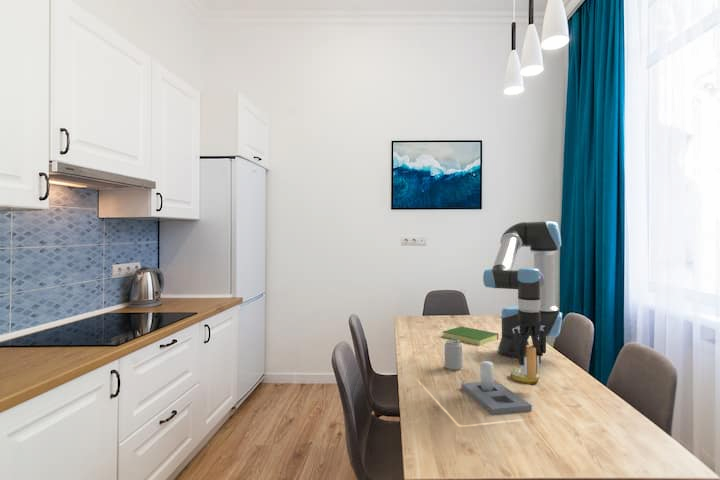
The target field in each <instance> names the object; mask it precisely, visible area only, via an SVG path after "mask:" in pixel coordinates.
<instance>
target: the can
mask: <svg viewBox="0 0 720 480" xmlns="http://www.w3.org/2000/svg"><path fill="white" fill-rule="evenodd" d="M444 367H445V368H446V369H447V370H449V371H459V370H461V369H462V368H463V345H462V344H461V341H458V340H454V339H447V340H446V341H445V343H444Z"/></svg>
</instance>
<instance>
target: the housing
mask: <svg viewBox="0 0 720 480" xmlns="http://www.w3.org/2000/svg"><path fill="white" fill-rule="evenodd" d="M461 389H462V390H463V391H465V393H467V394H468V395H469V396H470V397H471V398H472V399H473V400H475V401H476V402H477V403H478V404H479V405H481V407H482V408H484V410H486V411H487V412H489V413H490V414H491V415H492V416H495V415H503V414H514V413H522V412H523V413H524V412H532V409H533V408H532V407H533V406H532V404H531V403H529V402H528V401H527V400H525V399H524V398H523V397H521V396H519V395H517V393H515V392H513V391H512V390H510V389H509V388H507V387H506V386H505V385H503V384H502V383H500V382H499V381H497V380H493V391H487V392H483V391H482V390H481V381H475V382H462V383H461Z"/></svg>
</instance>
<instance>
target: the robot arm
mask: <svg viewBox="0 0 720 480" xmlns="http://www.w3.org/2000/svg"><path fill="white" fill-rule="evenodd" d="M559 227H560V226H559V224H558V222H556V221H548V220H545V221H531V222H530V221H529V222H527V221H524V222H518V223H516V224H514V225H512V226H510V227H509V228H508V229H506V230H505V231H504V233H502V236H501V237H500V247H499V249H498V252H497V255H496V258H495V261H494V263H493V265H492V268H490V269H485V270H484V271H483V276H482V278H483V280H482V281H483V286H484V287H486V288H489V289H490V288H491V289H502V290H503V289H507V290H517V305H510V306H506V307H503V308H502V310H501V316H500V317H501V338H500V342H499V344H498V348H497V349H498V350H497V353H498V354H499V355H501V356H503V357H507V358H513V359H518V365H520V369H521V373H523V374H524V375H527V357H525V351H526V346H527V345H530V343H529V339H530V337H531V341H532V342H531V343H532V346H535V347H536V373H537V374H538V375H539V374H540V364H541V363H542V362H541V361H542V358H541V357H543V355H544V354H546V352H547V337H550V338H553V337H554V338H557V337H559V335H560V332H561V327H562V321H563V312H561V311H559V310H560V309H559V307H558V306H557V305H556V295H555V294H556V293H555V292H556V290H555V289H556V287H555V278H556V277H555V254H556V253H557V252H558V251H559V248H560V247H562V236H561V232H560V231H561V230H560V228H559ZM522 247H529V248H530V249H529V250H530V252H531V253H532V254H533V267H520V268H518V269H517V270H514V269H513V266H514V263H515V260H516V257H517V254H518V252H519V251H518V250H519V249H520V248H522Z"/></svg>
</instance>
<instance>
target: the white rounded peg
mask: <svg viewBox="0 0 720 480" xmlns="http://www.w3.org/2000/svg"><path fill="white" fill-rule="evenodd" d="M493 381H494V362H492V361H487V360H483V361H480V382H481V390H482V391H483V392H487V391H493Z"/></svg>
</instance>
